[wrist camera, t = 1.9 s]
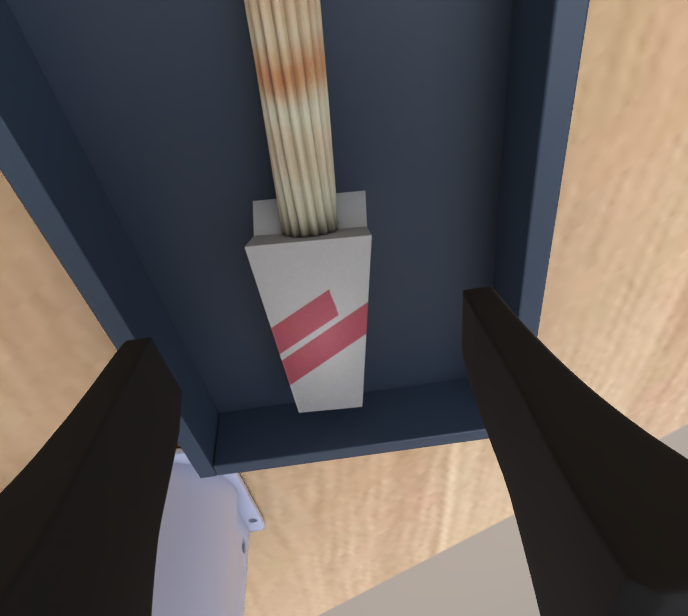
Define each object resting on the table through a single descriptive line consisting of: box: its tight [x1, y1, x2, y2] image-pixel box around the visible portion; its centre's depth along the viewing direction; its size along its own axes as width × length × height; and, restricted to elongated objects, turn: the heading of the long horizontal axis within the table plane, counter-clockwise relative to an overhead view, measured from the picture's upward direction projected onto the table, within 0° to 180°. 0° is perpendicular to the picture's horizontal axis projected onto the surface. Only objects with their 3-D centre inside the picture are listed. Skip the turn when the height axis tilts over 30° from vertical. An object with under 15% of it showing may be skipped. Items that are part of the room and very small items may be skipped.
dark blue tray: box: [0, 0, 590, 478], centre depth 17 cm, size 24×15×3 cm, turn 8°
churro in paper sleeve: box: [244, 0, 372, 413], centre depth 17 cm, size 4×3×20 cm
